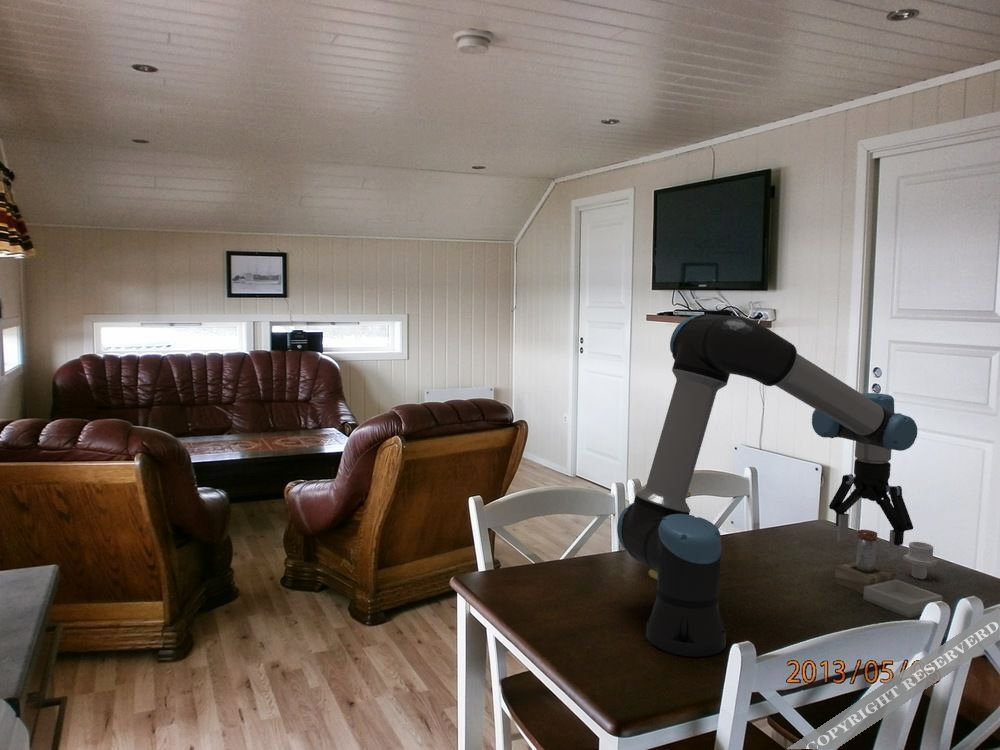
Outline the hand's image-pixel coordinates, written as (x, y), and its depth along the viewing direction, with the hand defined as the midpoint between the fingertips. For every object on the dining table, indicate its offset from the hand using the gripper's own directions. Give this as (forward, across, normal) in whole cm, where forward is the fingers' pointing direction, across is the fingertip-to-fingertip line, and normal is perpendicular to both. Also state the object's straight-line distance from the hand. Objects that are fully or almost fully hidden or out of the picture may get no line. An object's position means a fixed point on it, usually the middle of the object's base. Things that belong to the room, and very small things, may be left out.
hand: (867, 549), depth 175 cm
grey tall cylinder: (+9, 0, 0) cm, 9 cm away
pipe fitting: (+9, -2, -18) cm, 20 cm away
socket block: (+9, 0, 0) cm, 9 cm away
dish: (+9, -11, +2) cm, 14 cm away
